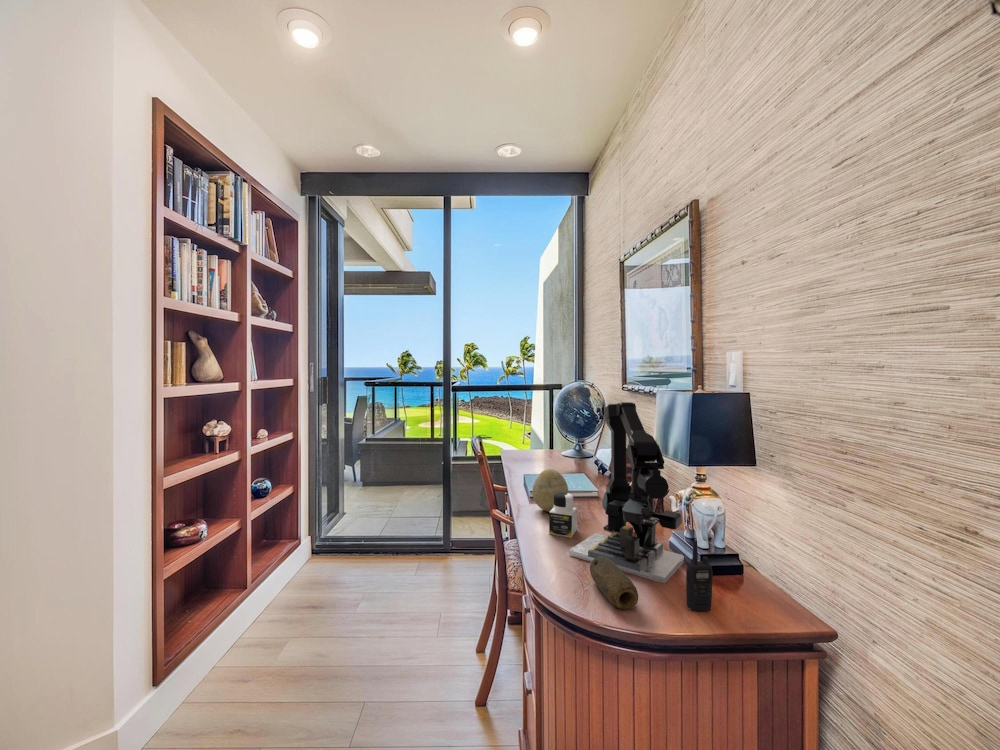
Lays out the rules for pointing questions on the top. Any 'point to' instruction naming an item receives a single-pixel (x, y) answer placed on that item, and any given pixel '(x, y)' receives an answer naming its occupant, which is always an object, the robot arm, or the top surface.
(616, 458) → the robot arm
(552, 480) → the fossilized egg
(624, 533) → the block
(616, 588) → the stone weight
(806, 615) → the top surface
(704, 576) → the two-way radio
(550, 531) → the medicine bottle
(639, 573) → the breaker panel
